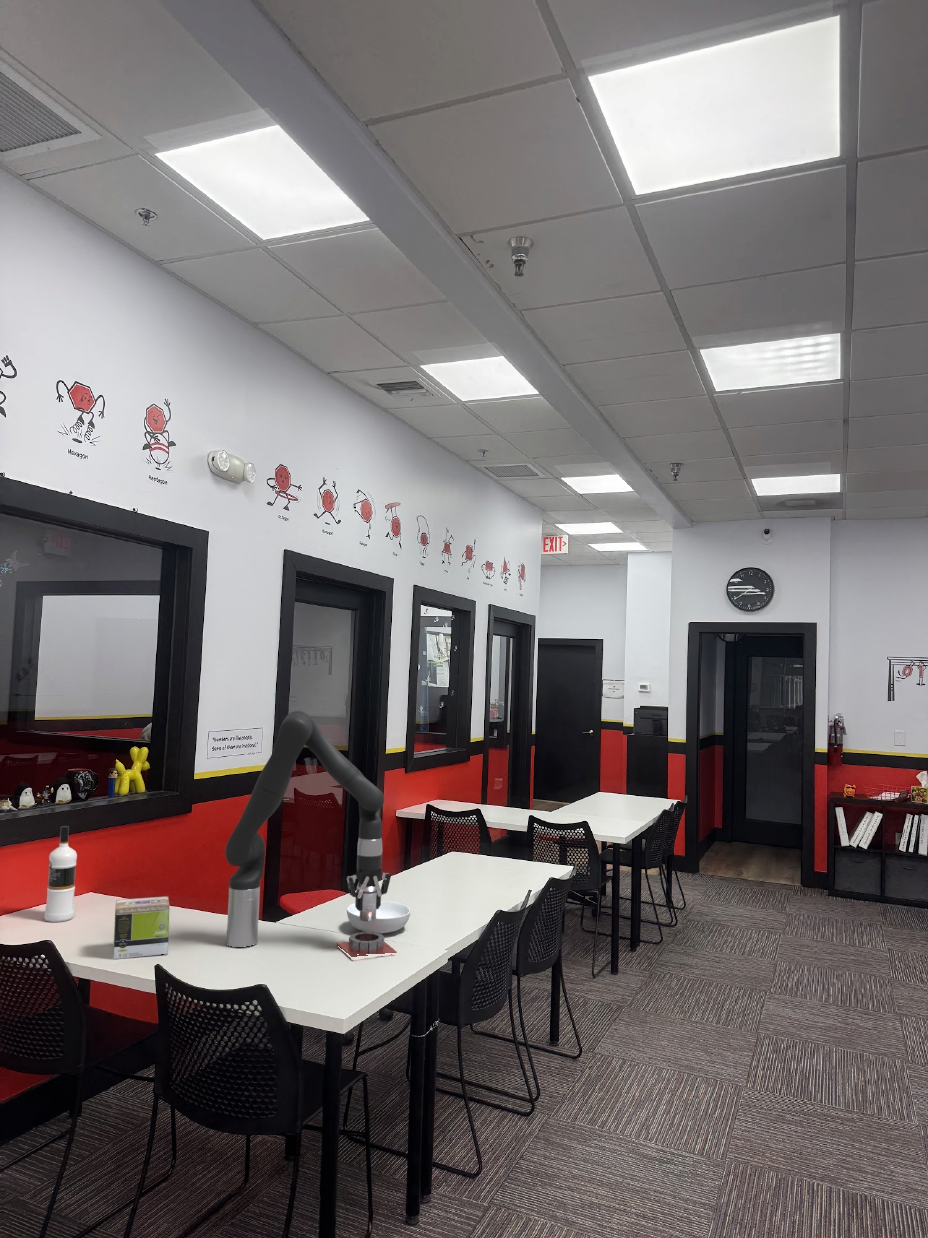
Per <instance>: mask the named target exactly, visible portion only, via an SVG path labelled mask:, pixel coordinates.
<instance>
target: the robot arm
mask: <svg viewBox="0 0 928 1238" xmlns="http://www.w3.org/2000/svg"><path fill="white" fill-rule="evenodd" d="M275 741H276V742H275V743H274V746H273V747H274V748H273V750H272V751H271V752H272V753H271V755H270V757H269V759H267V762H266V764H265V765H264V766H263V768H262V771H261V772H260V774H259V776H258V778H257V780H256V782H255V785H254V787H253V790H252V791H251V795H250V797H249V799H248V801H247V804H246V805H245V808H244V810H243V813H242V815H241V817H240V819H239V821H238V823H237V824H236V826H235V827H234V829H233V831H232V833H231V834H230V837H229V838H228V840H227V843H226V845H225V849H224V850H225V851H224V853H225V859H226V861H227V863H228V864H229V865H231V866H233V867H238V869H237V870H236V871H235V872H234V873H233V874H232V875H231V876H230V877H229V881H228V882H229V883H228V884H229V885H228V905H227V925H226V928H227V929H226V943H225V944H226V945H227V944H228V945H229V946H228V945H227V946H228V947H230V946H232V947H231V948H235V947H244V946H250V947H252V946H251V945H253V944H256V943H257V944H258V936H259V935H258V932H259V917H260V916H259V915H260V913H259V912H260V894H261V893H260V891H261V880H262V878H263V876H264V870H265V869H264V868H265V867H264V866H265V860H266V859H265V858H266V844H265V839H264V838H263V837H262V835H261V834H260V833H258V832H259V831H260V828H261V827H262V826H264V824H265V823H266V822H267V821H268V820H269V818H270V817H271V816H272V815H273V814H274V813H275V812H276V810H277V809H278V808H279V807H280V805H281V803H282V801H283V798H284V797H285V794H286V792H287V790H288V788H289V787H288V786H289V784H290V780H291V777H292V773H293V769H294V765H295V763H296V761H297V759H298V757H299V756H300V754H301V752H302V750H303V749H304V747H305V746H306V747H307V748H308V749H309V750H310V751H311V752H312V753H313V754H314V755H315V756H316V757H317V759H318V761H319V762H320V763H321V765H322V766H323V768H324V770H326V772H327V773H328V774H329V776H330V777H331V778H332V779H333V780H334V781H335V782H336V783H337V784H339V785H340V786H341V788H343V789H344V790H346V791H347V792H348V793H349V794H350V795H352V797H353V798H354V799H355V800H356V802H358V810H359V825H358V826H359V827H358V841H357V853H356V855H357V856H356V872H355V874H353V875H351V876H350V875H347V876H346V882H347V886H348V892H349V893H348V894H349V896H351V897H353V898H355V899H354V900H355V902H354V903H355V907H356V908H357V910H358V911H361V910H362V898H361V897H362V894H363V891H364V890H365V887H366V886H377V904H376V909H379V907H380V905H381V901H382V896H383V895H386V894H387V893H388V890H389V886H390V881H391V878H392V875H391V874H390V873H389V872H383V871H382V866H383V865H382V863H383V840H382V839H383V822H382V819H381V812H382V811H381V810H382V807H384V806H383V805H384V804H385V796H384V793H383V792H382V791H381V789H380V788H378V787H377V786H376V785H374V783H372V782H371V781H370V780H369V779H367V777H365V775H364V774H363V773H362V772H361V771H360V770H359V768H357V766H356V765H354V764H353V763H352V762H351V761H350V760H349V759H348V758H347V757H345V755H344V754H343V753H341V751H339V750H338V748H336V747H335V745H334V744H332V743H333V742H331V741H330V740H329V739H328V737H327V736H326V735H325V733H323V731H322V730H321V729H320V727H318V725H317V723H316V722H315V721H314V720H313V719H312V717H311V716H310V715H309V714H308V713H306V712H305V711H302V710H294V711H292V712H290V713H288V714H287V715H286V716H285V718H284V719H283V721H282V723H281V724H280V727H279V731H278V734H277V738H276V740H275ZM381 879H382V883H381V886H380V884H379V882H380V880H381ZM356 880H357V882H358V883H357V886H356V888H355V883H356ZM257 944H256V945H257Z"/></svg>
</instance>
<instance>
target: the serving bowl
mask: <svg viewBox="0 0 928 1238" xmlns="http://www.w3.org/2000/svg"><path fill="white" fill-rule="evenodd" d="M346 914H347V915H346V916H347V919H348V920H349V922H350V924H351V926H353V927H354V928H356V929H357V930H359V931H361V932H375V933H379V934H382V935H384V934H387V933H393V932H396V931H399V930H400V929H402V928H403V927H405V926H406V924H407V923H408V921H409V919H410V916H411V908H410V907H409V906H408V905H406V904H404V903H401V902H396V901H391V900H381V905H380V907H379V909H376V920H374V921H361V920H360V919H359V918H360V911H358V910H357V908H356V907H355V902H354V903H351V904H350V905H348V906H347V908H346Z"/></svg>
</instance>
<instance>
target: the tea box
mask: <svg viewBox="0 0 928 1238" xmlns="http://www.w3.org/2000/svg"><path fill="white" fill-rule="evenodd" d="M169 900H170V899H169V895H165V896H155V897H154V896H153V897H151V896H150V897H140V898H129V899H116V900H115V909H114V930H113V933H114V934H113V959H114V960H117V959H118V960H119V959H128V958H129V959H130V958H139V957H140V958H141V957H149V956H150V957H151V956H160V955H161V954H164V955H168V954H169V941H170V939H169V937H170V936H169V935H170V934H169V933H170V927H169V926H170V901H169ZM161 956H162V955H161Z"/></svg>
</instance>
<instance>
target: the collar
mask: <svg viewBox="0 0 928 1238" xmlns="http://www.w3.org/2000/svg"><path fill="white" fill-rule="evenodd" d="M337 946H339V947H340V948H341V949H343V950H344V951H345V952H346V953H348V954H349V955H350V956H351V957H357V956H368V955H366V954H385V953H398V951H397V950H395V949H394V948H393V947H391V945H389V944H388V943H387V942H385V936H384V934H379V933H375V932H365V931H361V932H354V933H352V934H351V935H349V936H348V941H343V942H336V947H337ZM357 954H359V955H357Z"/></svg>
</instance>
